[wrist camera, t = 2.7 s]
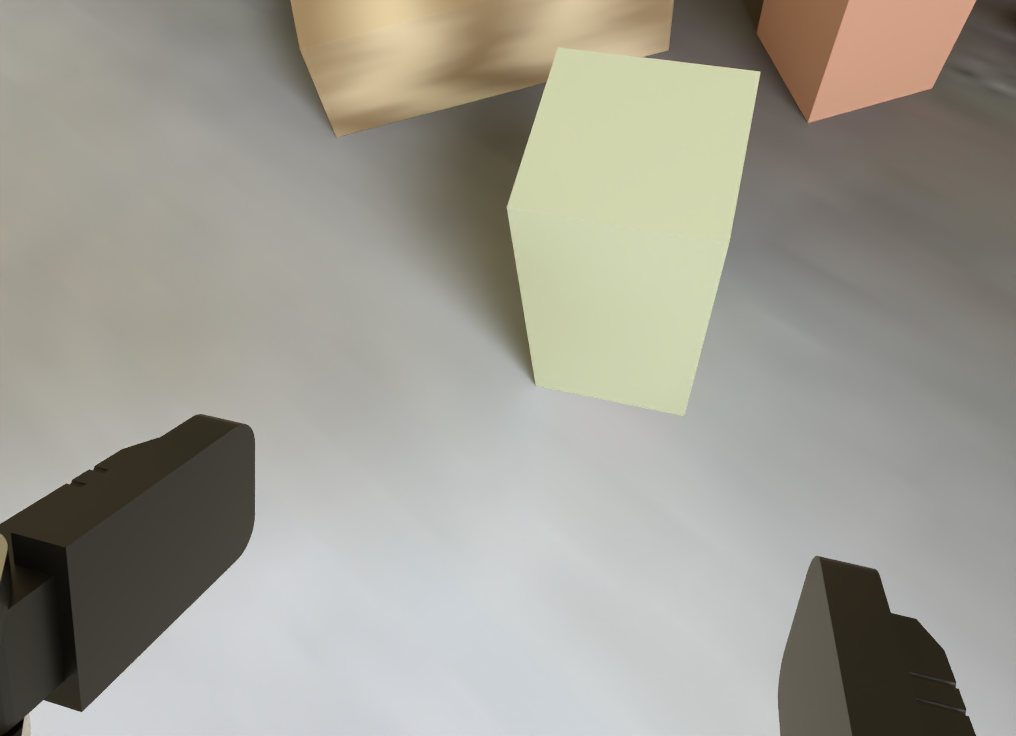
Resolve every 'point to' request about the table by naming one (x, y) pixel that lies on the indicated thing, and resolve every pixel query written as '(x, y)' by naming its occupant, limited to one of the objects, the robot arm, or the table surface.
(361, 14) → the birch plinth block
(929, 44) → the clay-red block
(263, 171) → the table surface
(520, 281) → the sage-green block
